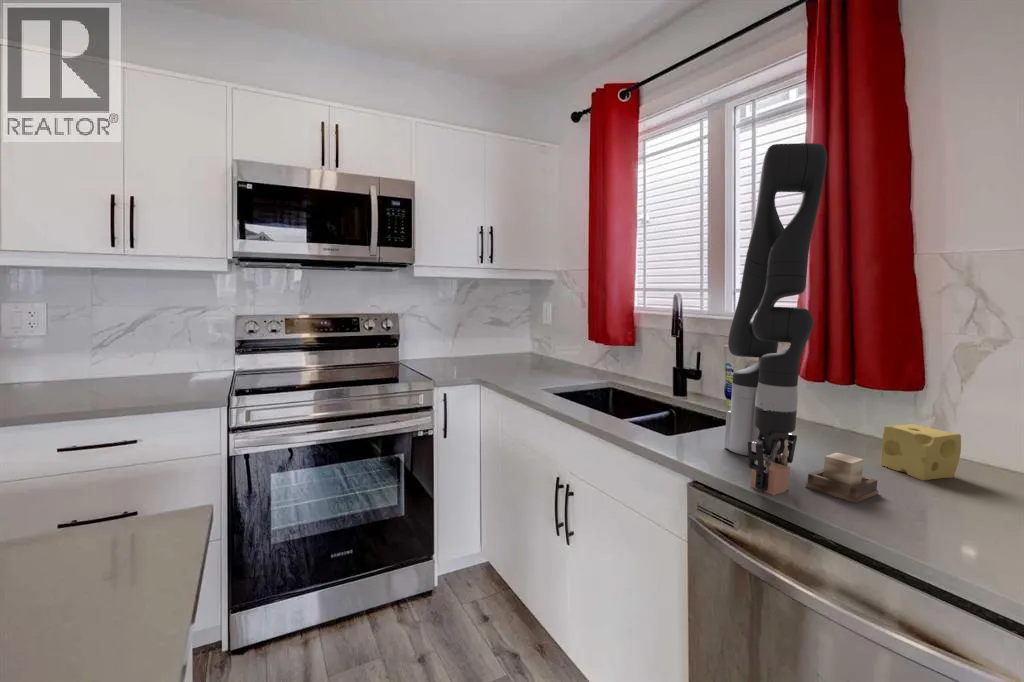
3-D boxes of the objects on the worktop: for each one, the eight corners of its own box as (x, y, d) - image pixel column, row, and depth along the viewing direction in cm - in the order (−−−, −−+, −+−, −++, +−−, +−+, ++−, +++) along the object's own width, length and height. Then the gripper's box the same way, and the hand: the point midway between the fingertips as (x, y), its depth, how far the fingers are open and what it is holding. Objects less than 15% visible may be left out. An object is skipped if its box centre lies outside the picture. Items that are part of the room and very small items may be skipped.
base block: (822, 484, 105) (825, 456, 104) (834, 479, 108) (837, 452, 107) (848, 492, 101) (851, 463, 100) (860, 487, 103) (863, 459, 103)
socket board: (805, 486, 106) (806, 473, 105) (828, 478, 111) (829, 466, 111) (855, 503, 98) (857, 489, 98) (878, 493, 103) (879, 480, 103)
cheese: (923, 481, 111) (928, 437, 110) (876, 464, 121) (880, 423, 120) (958, 478, 113) (963, 434, 112) (909, 462, 124) (913, 421, 123)
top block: (750, 487, 105) (752, 463, 105) (764, 482, 108) (766, 459, 107) (773, 495, 101) (775, 471, 100) (787, 490, 104) (789, 467, 103)
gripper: (777, 398, 110) (771, 474, 111) (737, 405, 102) (731, 487, 104) (813, 405, 103) (806, 486, 105) (773, 413, 96) (766, 500, 97)
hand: (769, 486), depth 104 cm, fingers open, 5 cm apart
